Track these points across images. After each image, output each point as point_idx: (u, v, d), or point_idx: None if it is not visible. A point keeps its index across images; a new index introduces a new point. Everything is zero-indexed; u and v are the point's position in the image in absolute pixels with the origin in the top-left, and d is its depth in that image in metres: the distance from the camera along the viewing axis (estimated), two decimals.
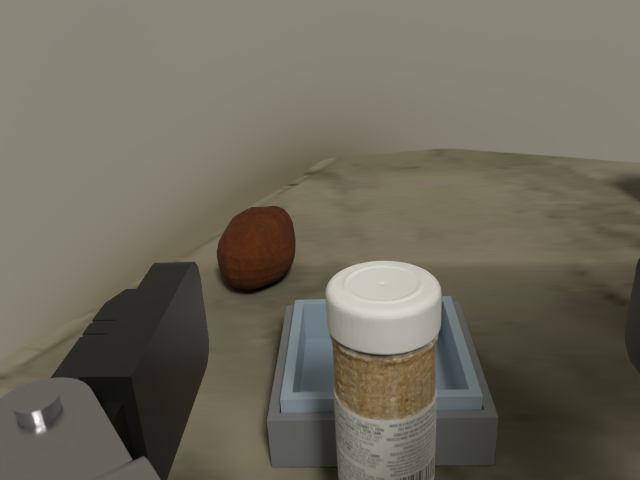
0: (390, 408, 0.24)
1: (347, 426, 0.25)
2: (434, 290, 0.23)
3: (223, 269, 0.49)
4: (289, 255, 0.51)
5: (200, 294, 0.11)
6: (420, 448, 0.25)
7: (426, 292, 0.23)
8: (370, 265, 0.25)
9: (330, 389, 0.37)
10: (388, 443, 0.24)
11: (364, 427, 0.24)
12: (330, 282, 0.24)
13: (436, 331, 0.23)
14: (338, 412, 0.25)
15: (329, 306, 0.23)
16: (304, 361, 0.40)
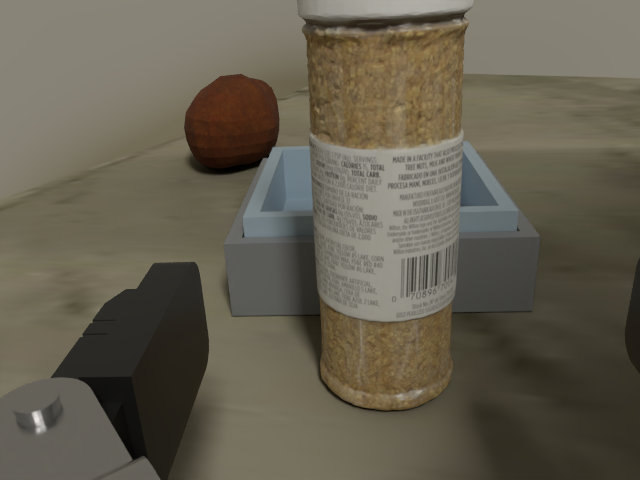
0: (393, 128, 0.15)
1: (328, 175, 0.16)
2: None
3: (190, 138, 0.41)
4: (271, 126, 0.42)
5: (200, 294, 0.11)
6: (439, 212, 0.17)
7: None
8: None
9: None
10: (390, 193, 0.16)
11: (354, 167, 0.16)
12: None
13: None
14: (315, 162, 0.17)
15: None
16: None
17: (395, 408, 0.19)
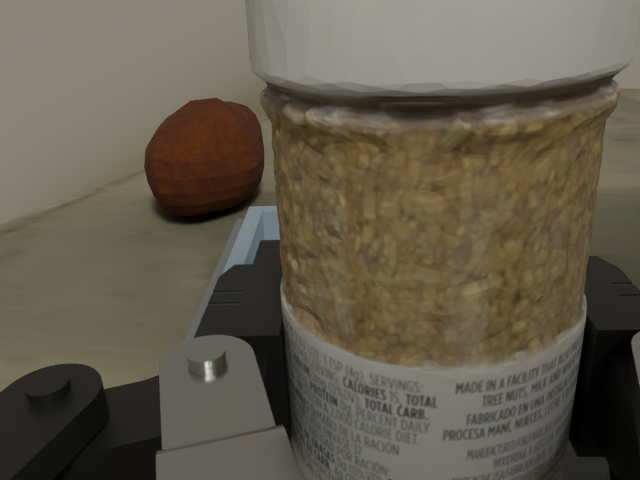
0: (460, 327, 0.07)
1: (318, 392, 0.08)
2: None
3: (150, 181, 0.33)
4: (252, 164, 0.34)
5: None
6: (543, 463, 0.08)
7: None
8: None
9: None
10: (447, 449, 0.07)
11: (372, 394, 0.07)
12: None
13: (634, 41, 0.06)
14: (292, 353, 0.09)
15: None
16: None
17: None
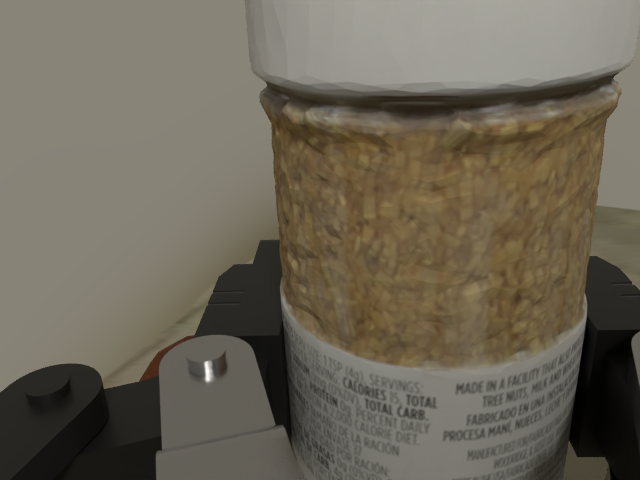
0: (460, 327, 0.07)
1: (317, 393, 0.08)
2: None
3: None
4: None
5: None
6: (542, 465, 0.08)
7: None
8: None
9: None
10: (447, 450, 0.07)
11: (371, 395, 0.07)
12: None
13: (635, 41, 0.06)
14: (292, 354, 0.09)
15: None
16: None
17: None
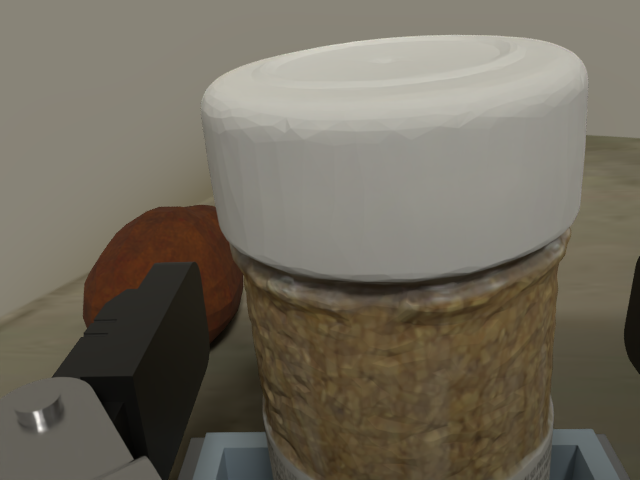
0: (424, 468, 0.07)
1: None
2: (566, 56, 0.07)
3: None
4: (225, 301, 0.26)
5: (201, 294, 0.11)
6: None
7: (541, 57, 0.06)
8: None
9: None
10: None
11: None
12: (222, 76, 0.08)
13: (576, 201, 0.07)
14: (275, 469, 0.09)
15: (206, 131, 0.07)
16: None
17: None
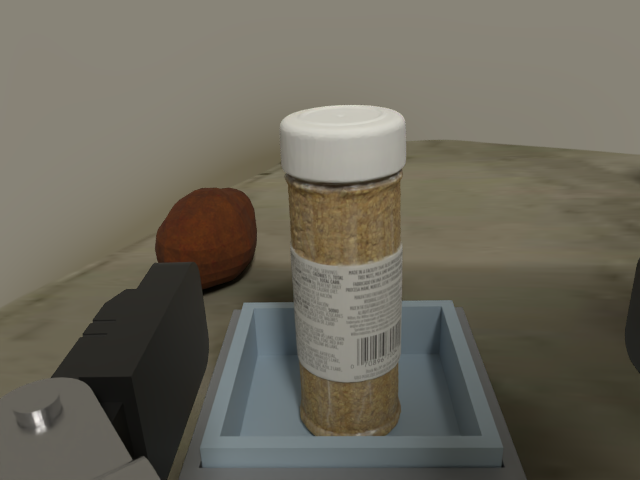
0: (349, 252, 0.22)
1: (304, 279, 0.23)
2: (397, 118, 0.21)
3: None
4: (246, 248, 0.40)
5: (200, 294, 0.11)
6: (384, 305, 0.23)
7: (388, 118, 0.21)
8: (330, 107, 0.23)
9: (283, 427, 0.26)
10: (347, 295, 0.22)
11: (322, 276, 0.22)
12: (285, 117, 0.22)
13: (399, 164, 0.21)
14: (295, 267, 0.23)
15: (283, 136, 0.21)
16: (252, 386, 0.29)
17: None
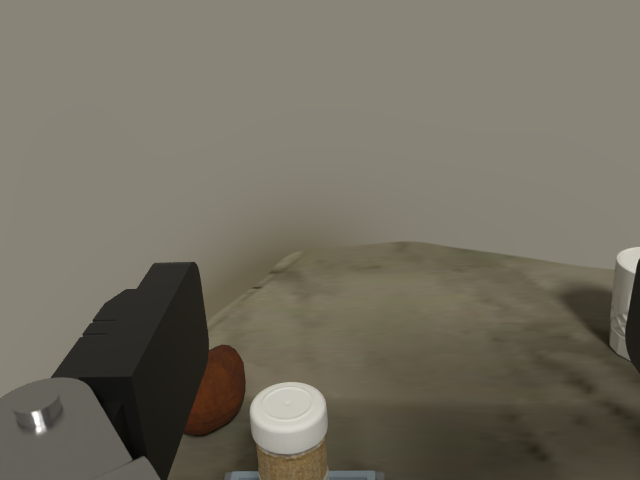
0: None
1: None
2: (320, 410, 0.35)
3: None
4: (237, 402, 0.54)
5: (200, 294, 0.11)
6: None
7: (314, 411, 0.35)
8: (282, 386, 0.37)
9: None
10: None
11: None
12: (253, 401, 0.36)
13: (321, 437, 0.35)
14: None
15: (251, 420, 0.35)
16: None
17: None
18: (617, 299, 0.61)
